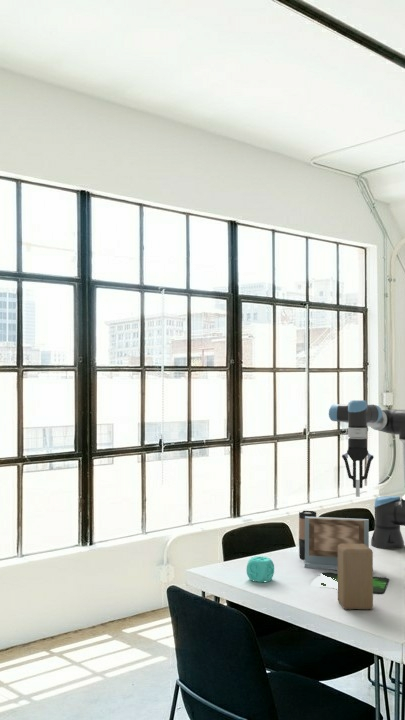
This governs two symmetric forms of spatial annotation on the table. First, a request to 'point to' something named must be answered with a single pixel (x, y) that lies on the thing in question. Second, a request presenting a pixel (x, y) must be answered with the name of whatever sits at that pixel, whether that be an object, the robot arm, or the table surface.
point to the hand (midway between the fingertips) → (357, 496)
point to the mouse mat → (378, 582)
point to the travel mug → (303, 531)
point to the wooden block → (355, 576)
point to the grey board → (322, 560)
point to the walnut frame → (333, 535)
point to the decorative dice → (260, 569)
